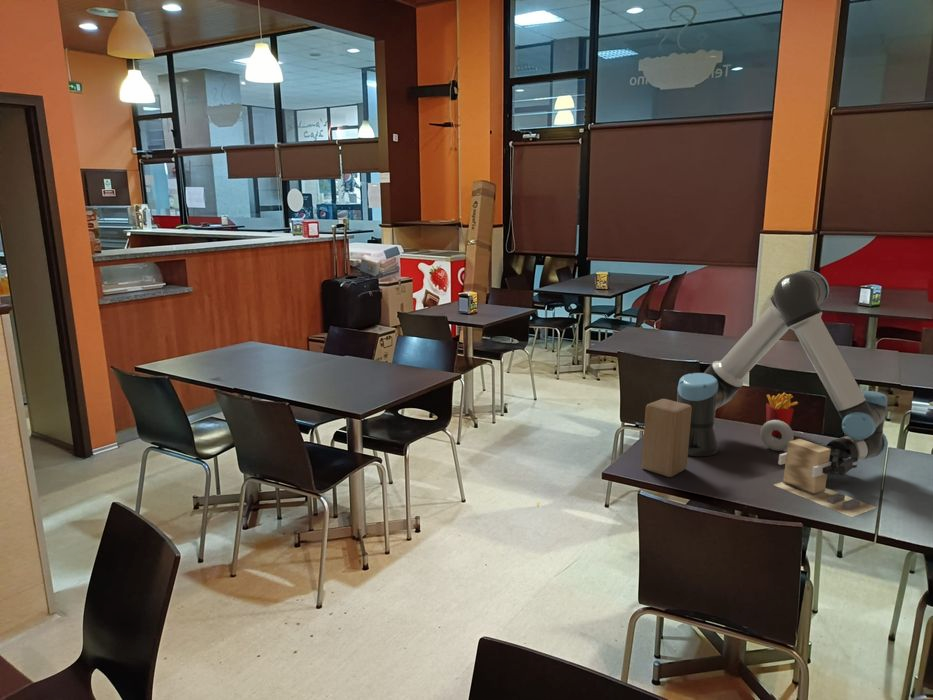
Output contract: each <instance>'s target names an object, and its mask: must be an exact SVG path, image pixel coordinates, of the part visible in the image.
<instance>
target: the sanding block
mask: <svg viewBox="0 0 933 700" xmlns="http://www.w3.org/2000/svg"><path fill="white" fill-rule="evenodd" d="M830 451H831V449H829V448H826V447H823V445H820V444H816V443H815V442H811V441H808V440H805V439H802V438H796V439H793V440H792V441H789V442H788V446H787V449H786V452H787V455H786V463H785V464H784V472H783V481H782V482H783V483H785V484H787V485H790V486H792V487H795V488H797V489H800V490H802V491H805V492H807V493H809V494H812V495H815V494H818V493H821V492H824V491H825V488H827V487H826V485H827V478H828V474H824V475H820V476H817V477H811V476H812V468H813V467H814V466H817V465H820V464H824V463H827V462H828V463H830V462H829V458H830Z"/></svg>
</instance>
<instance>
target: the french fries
mask: <svg viewBox="0 0 933 700" xmlns="http://www.w3.org/2000/svg"><path fill="white" fill-rule="evenodd" d="M766 397H767V400H768V403H766V404H765V407H766V408H765V410H766V411H765V413H766V415H765V417H766V420H765V421H766V422H768V421H771V420H780V421H783V422H785V423H786V424H787V425H789V427H790V428H791V422H792V419H793V414H794V408H793V406H796V405H798V404H799V402H798V401H793V402H791V399H792V398H794V396H793V395H792V394H791V393H789V394H787V393H786V392H783V393H778V394H777V395H772V396H771V395H770V394H766ZM766 422H765V423H766ZM771 434H772V437H773V436H782V435H781V433H780V432H779V431H777V430H774V431H772V433H771Z"/></svg>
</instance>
